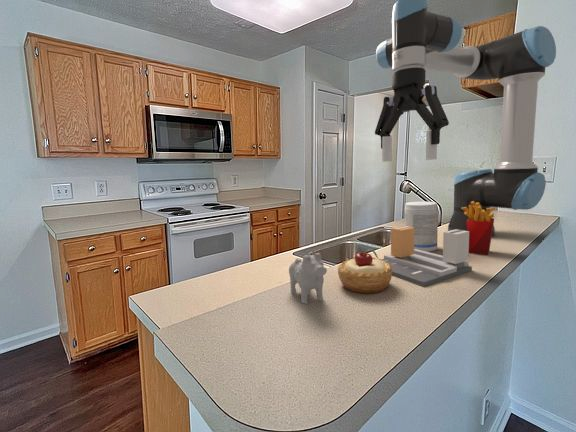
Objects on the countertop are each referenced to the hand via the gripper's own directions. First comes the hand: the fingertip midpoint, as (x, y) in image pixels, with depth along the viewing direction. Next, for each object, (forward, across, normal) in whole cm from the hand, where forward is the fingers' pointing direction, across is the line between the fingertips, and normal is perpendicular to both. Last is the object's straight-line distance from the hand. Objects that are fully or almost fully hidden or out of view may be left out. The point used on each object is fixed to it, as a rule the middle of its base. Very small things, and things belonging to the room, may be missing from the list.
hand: (407, 160), depth 80 cm
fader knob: (+27, -3, +2) cm, 27 cm away
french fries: (+28, +2, +27) cm, 39 cm away
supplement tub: (+28, -10, +18) cm, 35 cm away
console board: (+28, +2, +2) cm, 28 cm away
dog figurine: (+28, +1, -31) cm, 42 cm away
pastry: (+28, +3, -17) cm, 33 cm away
